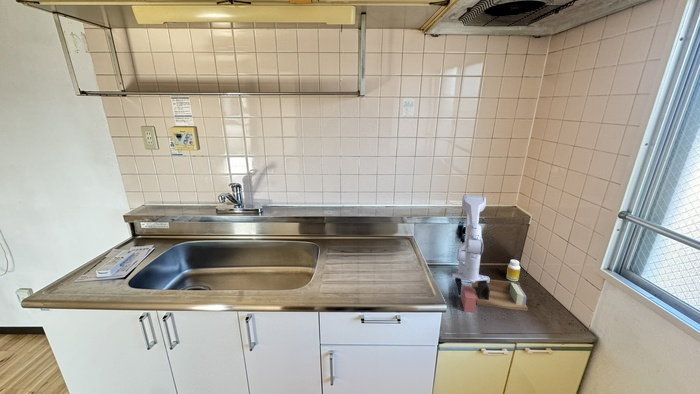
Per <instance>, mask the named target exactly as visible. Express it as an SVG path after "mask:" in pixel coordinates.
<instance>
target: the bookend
mask: <svg viewBox="0 0 700 394" xmlns="http://www.w3.org/2000/svg"><path fill="white" fill-rule="evenodd" d="M486 283H487V282H486ZM477 289H478V288H475V291H476V293H477ZM489 295H490V289H489V287H488V284H487V287H486V288H485V289H484V290H483V291H482V293H481V295H480V297H478V299H483V300H489Z"/></svg>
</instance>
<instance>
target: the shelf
mask: <svg viewBox="0 0 700 394" xmlns="http://www.w3.org/2000/svg"><path fill="white" fill-rule="evenodd" d="M511 283H514V284H517V285H520V286H521V282H519V281H511V280H498V279H490V282H489V283H487V284H488V287H489V289H490V295H489V300H483V299H478V296H477V293H476V291H475V288H478V281H475V282H471V286H472V288H473V291H474V294H475V296H476V306H479V307H480V306H481V307H490V308H498V309H500V308H501V309H507V310H517V311H527V312H528V311H529V308H528V306H527V303H526V304H525V305H517V304H516V303H515V302H514V300H513V298H512V296H511V294H510V293H509V291H510V284H511Z"/></svg>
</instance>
